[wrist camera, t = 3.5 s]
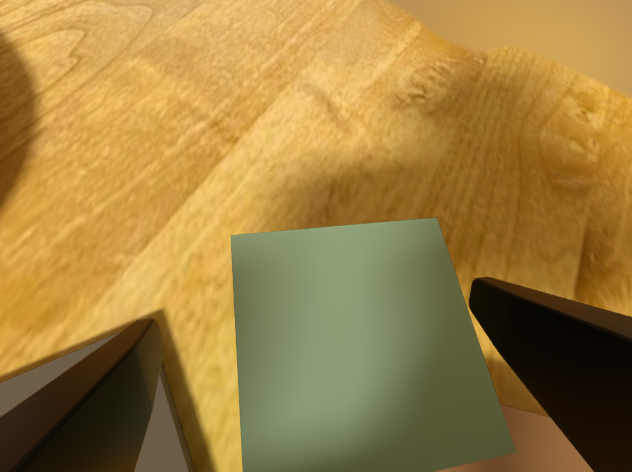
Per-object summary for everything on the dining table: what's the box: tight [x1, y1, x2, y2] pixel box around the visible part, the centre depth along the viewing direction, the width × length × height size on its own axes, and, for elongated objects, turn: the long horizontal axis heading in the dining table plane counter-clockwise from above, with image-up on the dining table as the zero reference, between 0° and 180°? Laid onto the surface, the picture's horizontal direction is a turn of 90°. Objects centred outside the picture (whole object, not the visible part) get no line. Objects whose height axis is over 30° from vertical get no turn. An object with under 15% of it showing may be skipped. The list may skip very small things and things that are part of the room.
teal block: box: [231, 217, 516, 472], centre depth 10 cm, size 4×4×10 cm
